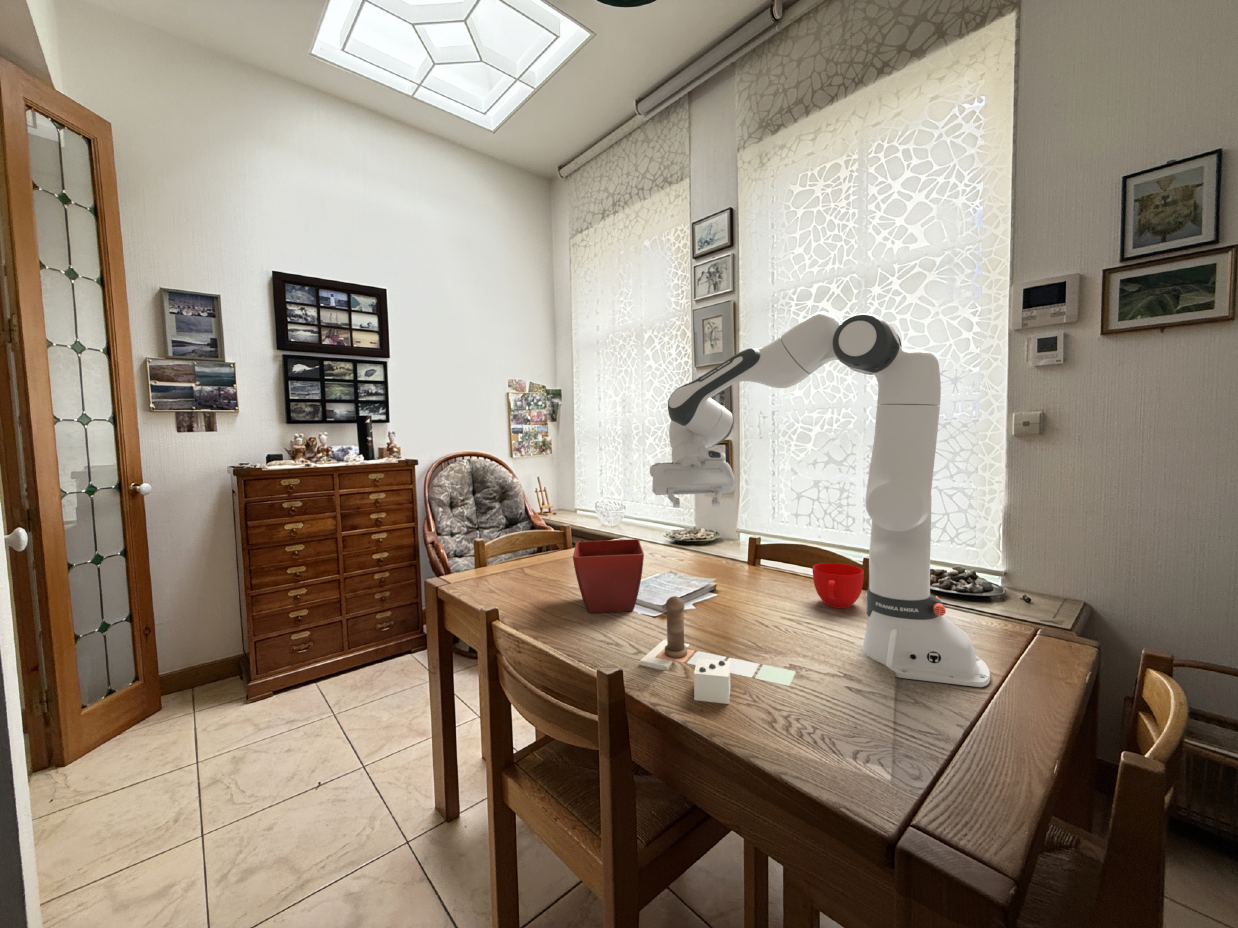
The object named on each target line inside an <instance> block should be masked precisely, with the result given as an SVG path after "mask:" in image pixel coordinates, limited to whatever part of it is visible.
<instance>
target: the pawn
mask: <svg viewBox="0 0 1238 928" xmlns="http://www.w3.org/2000/svg"><path fill="white" fill-rule="evenodd" d="M665 610H666V632H667V633H666V640H667V645H666V646H665V655H666V656H667V657H670V658H683V657H685V656H687V649H688V647H686V646H685V645H684V643H685V620H684V619H685V615H684V612H685V611H684V610H685V602H684V600H683V599H682V598H681V597H679V596H676V595H675V596H670V597H669V598H668V599H667V600H666V602H665Z"/></svg>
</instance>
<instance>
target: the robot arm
mask: <svg viewBox="0 0 1238 928" xmlns="http://www.w3.org/2000/svg"><path fill="white" fill-rule="evenodd" d="M835 360H837V361H839V362H840V363H841V364H843V365H845V366H846V367H847V368H848V369H850V370H852V371H854V372H857V373H861V374H864V375H870V376H871V375H873V376H874V377H875V378H876V381H877V388H878V389H877V390H878V391H877V392H878V393H877V402H876V411H875V412H876V413H875V426H874V434H873V435H874V437H873V446H872V451H871V457H870V458H871V459H870V465H869V470H868V471H869V472H868V479H867V483H866V484H867V486H866V495H865V509H866V512H867V514H868V516H869V518H870V519H871V526H870V527H871V530H870V539H869V540H870V543H869V548H868V549H869V550H868V587H867V588H866V593H865V611H866V614H867V620H866V622H867V623H866V627H865V629H866V630H865V634H864V638H863V642H862V645H861V648H860V649H861V651H862V652H863V653H864V655H865V656H867V657H869V658H870V659H872V660H874V661H875V662H878V663H880V664H882V665H884V666H886V667H887V668H888V669H890V670H891V671H893V672H894V677H896V678H900V679H909V680H915V681H917V680H918V681H925V682H935V683H942V684H949V685H951V684H952V685H958V686H969V687H976V688H984V687H986V686H987V685H989V684H990V682H991V673H990V668H989V666H988V665H987V664H986V662H985V661H984V660H983V659H982V658H980V657H979V656H978V655H976V650H975V647H974V644H973V642H972V640H971V638H970V636H968V634H967V633H966V632H965V631H963V630H962V629H961V628H959V627H958V626H957V625H955V624H954V623H953V622H952V621H950V620H949V619H948V618H946V616H945V614H946V612H947V611H946V607H945V605H944V604H943V602H942V601H941V600H940V598H939V597H938V596H937V595H935V596H934V595H933V594H931V541H932V539H931V538H932V537H931V535H932V534H931V533H932V489H933V488H932V486H933V476H934V469H935V467H934V466H935V459H936V450H937V441H938V431H939V430H938V429H939V419H940V408H941V395H942V394H941V393H942V392H941V391H942V390H941V389H942V386H941V385H942V382H941V372H940V364H939V360H938V358H937V357H936V355H934V354H933V353H931V352H929V351H926V350H924V349H917V348H912V349H909V348H905V347H902V340H901V338H900V337H899V335H898V334H897V332H896V330H895V328H894V327H893V326H892V325H891V324H890V323H889V322H887V321H886V320H885V319H883V318H882V317H880V316H878V315H876V314H872V313H859V314H854V315H852V316H849V317H847V318H846V319H844V320H843V321H842V322H841V320H839V318H838V317H836V316H835V315H833V314H831V313H828V312H826V311H820V312H815V313H814V314H812V315H809V316H808V317H807V318H805V319H804V320H801V321H800V322H799V323H797V324H796V325H794V326H793V327H791V328H789V330H787V331H785V332H784V333H783V334H782V335H781V336H779V337H778V338H777V339H775V340H774V341H772V342H770V343H768V344H766V345H763V346H760V347H758V348H757V347H756V348H747V349H743V350H742V351H740V352H738V353H736V354H734V355H733V356H731V357H729V358H727V359H726V360H725V361H723V362H721V363H720V364H719V365H717V366H715V367H713V368H712V369H710V370H709V371H708V372H706V373H704V374H703V375H701V376H699V377H698V378H696V379H694V380H692V381H690V382H687V383H685V384H683V385H681V386H679V387H678V388H676V389H675V390H674V391H673V392H672V393H671V394H670V396H669V398H668V401H667V413H668V416H669V419H670V423H669V427H668V428H669V429H668V436H669V437H668V438H669V439H668V440H669V445H670V449H671V461H672V462H655V464H652V465H650V467H649V474H650V476H651V477H652V487H651V489H652V493H653V494H654V495H656V496H667V499H668V500H669V501H670V502H671V503H672V507H673V508H675V509H676V508H680V506H681V504H680V497H676V496H675V495H709V494H710V495H713V494H714V495H715V496H712V499H711V504H712V507H716V508H717V507H720V502H721V501H720V499H721V497H722V494H732V493H733V492H734V490H735V487H736V478H735V475H734V472H733V469H732V467H731V465H730V464H729V463H728V461H727V462H726V454H725V452H722V451H716V450H712V449H711V448H712V447H714V446H716V445H718V444H721V443H722V442H724V441H725V440H726V439H727V438H728V437H729V436H730V435H731V433H732V430H733V428H734V421H735V420H734V416H733V413H732V412H731V411H730V410H728V409H727V408H726V407H725V406H724V405H721V403H719V402H717V401H716V400H714V399H713V398H712V397H713V396H715V395H717V394H718V393H721V392H722V391H724V390H725V389H727V388H729V387H730V386H732V385H734V384H737V383H739V382H751V383H757V384H760V385H763V386H768V387H770V388H775V389H788V388H791V387H793V386H795V385H798V384H799V383H801V382H802V381H803V380H805V379H806V378H808V377H809V376H810V375H811V374H813V373H814V372H815V371H817V370H818V369H819V368H821V367H822V366H824V365H825V364H827V363H829V362H831V361H835Z"/></svg>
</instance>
